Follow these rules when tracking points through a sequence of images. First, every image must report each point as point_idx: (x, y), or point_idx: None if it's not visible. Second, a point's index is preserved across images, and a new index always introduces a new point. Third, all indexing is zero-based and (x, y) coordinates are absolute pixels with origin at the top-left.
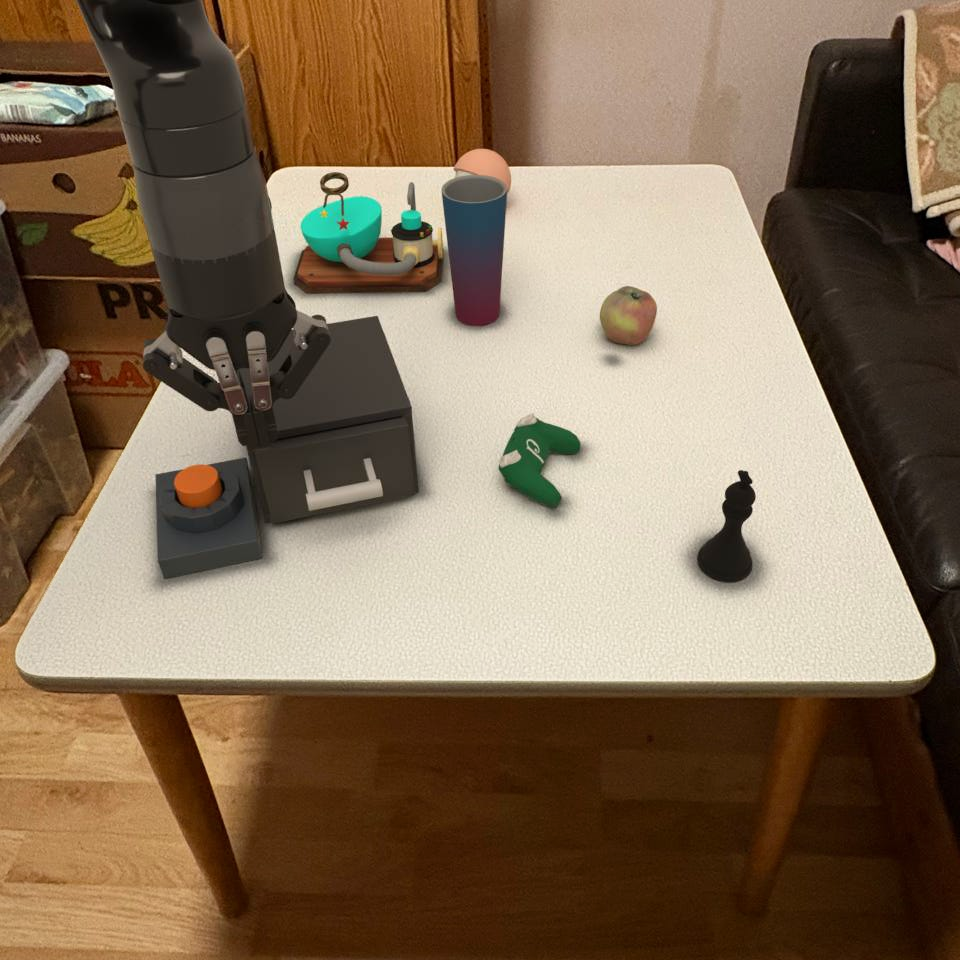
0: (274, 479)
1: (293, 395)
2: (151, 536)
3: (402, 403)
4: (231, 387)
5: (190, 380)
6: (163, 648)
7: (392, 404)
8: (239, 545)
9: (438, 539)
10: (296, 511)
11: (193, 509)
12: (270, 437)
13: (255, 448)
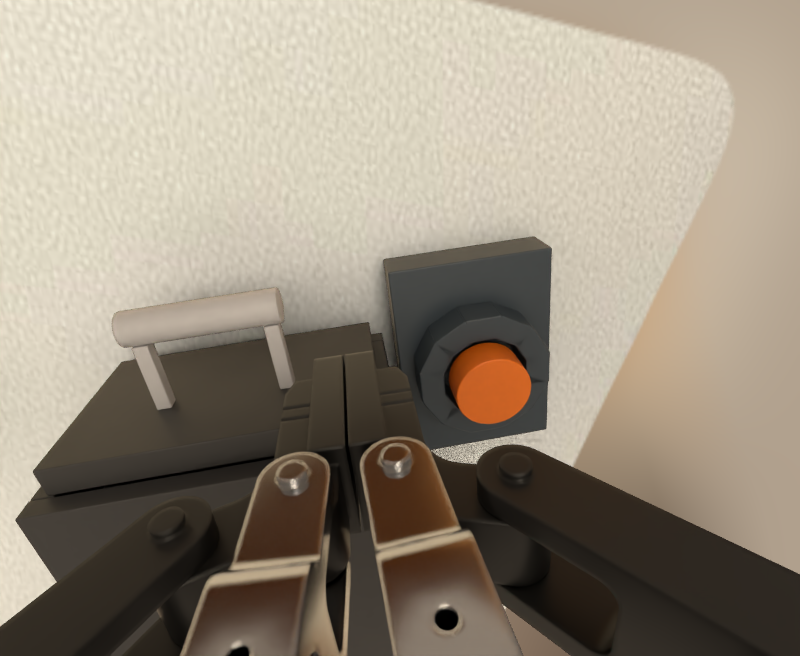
0: None
1: (150, 512)
2: (549, 326)
3: (41, 528)
4: (421, 546)
5: (648, 592)
6: (541, 79)
7: (66, 526)
8: (418, 266)
9: (71, 263)
10: (325, 335)
11: (496, 335)
12: (309, 386)
13: (357, 354)
